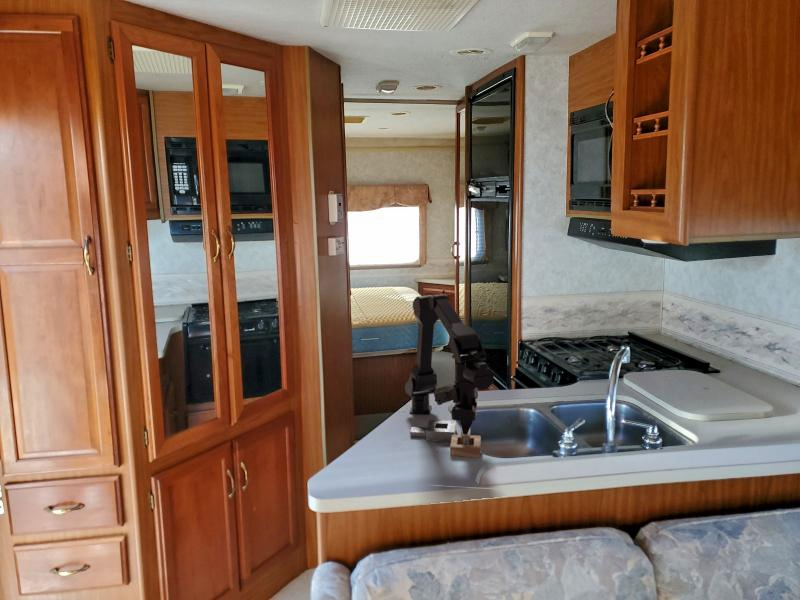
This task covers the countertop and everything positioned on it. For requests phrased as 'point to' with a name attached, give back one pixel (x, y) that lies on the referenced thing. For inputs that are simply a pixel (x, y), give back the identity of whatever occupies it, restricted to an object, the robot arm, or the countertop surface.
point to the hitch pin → (465, 438)
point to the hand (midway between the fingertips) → (465, 431)
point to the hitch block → (436, 431)
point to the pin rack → (465, 446)
